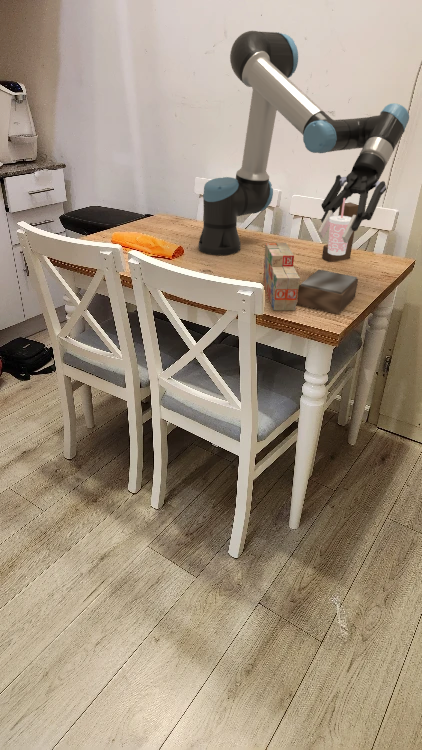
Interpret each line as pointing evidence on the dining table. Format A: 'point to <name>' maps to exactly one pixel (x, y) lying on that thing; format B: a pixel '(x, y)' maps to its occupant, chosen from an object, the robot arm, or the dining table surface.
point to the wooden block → (349, 211)
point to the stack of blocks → (280, 276)
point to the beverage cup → (338, 233)
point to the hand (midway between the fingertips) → (332, 237)
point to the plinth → (327, 291)
